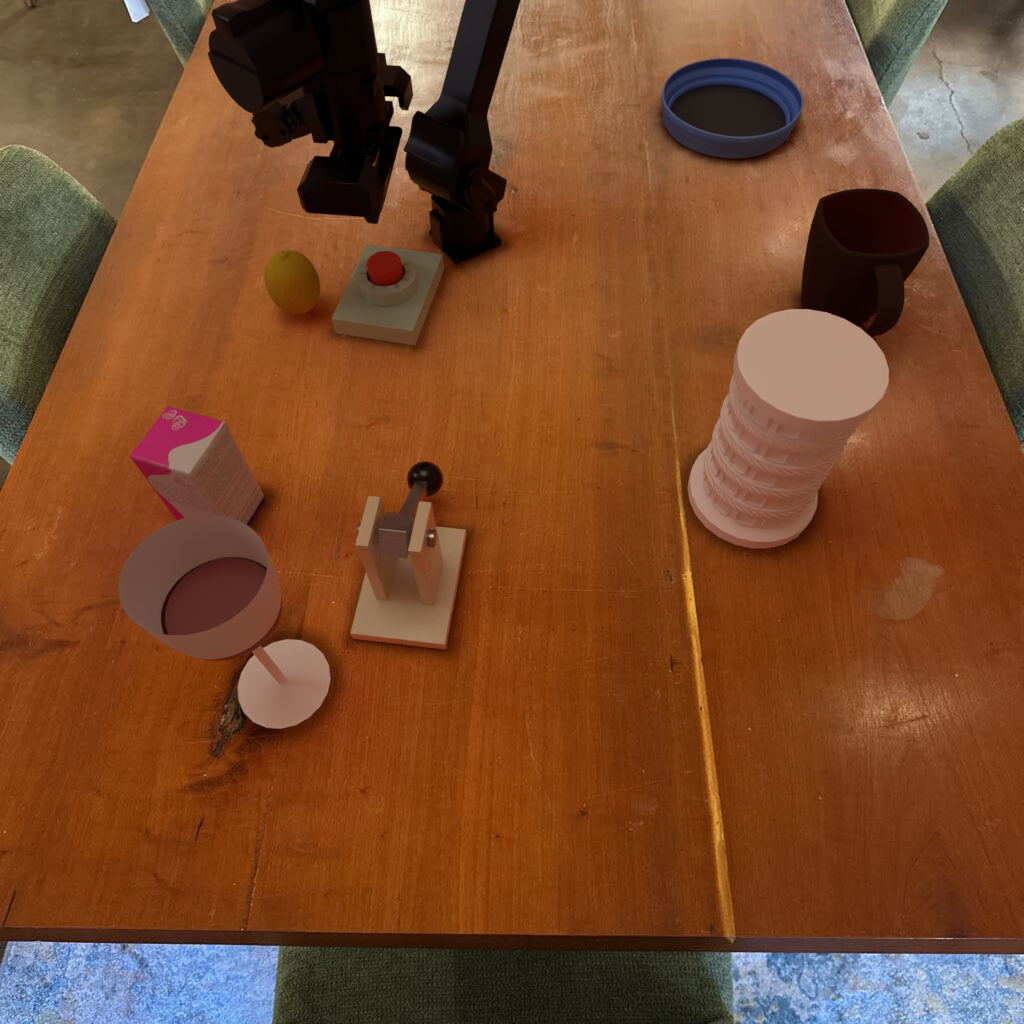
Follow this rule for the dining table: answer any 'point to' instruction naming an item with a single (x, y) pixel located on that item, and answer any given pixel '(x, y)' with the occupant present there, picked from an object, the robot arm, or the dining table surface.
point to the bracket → (408, 581)
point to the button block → (389, 298)
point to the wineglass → (224, 612)
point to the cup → (862, 256)
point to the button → (385, 268)
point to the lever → (408, 510)
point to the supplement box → (197, 467)
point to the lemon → (292, 282)
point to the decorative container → (784, 424)
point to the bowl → (730, 107)
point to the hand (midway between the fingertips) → (374, 217)
